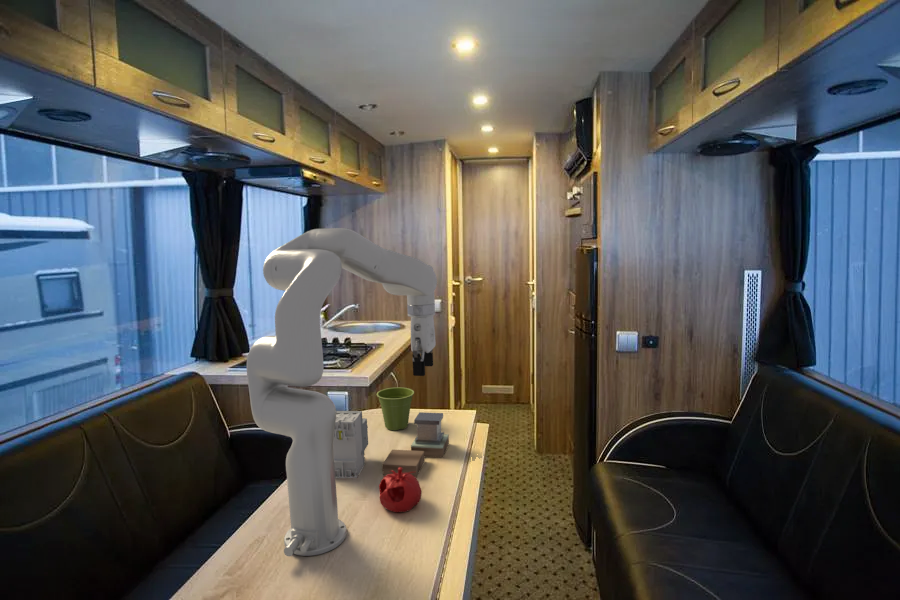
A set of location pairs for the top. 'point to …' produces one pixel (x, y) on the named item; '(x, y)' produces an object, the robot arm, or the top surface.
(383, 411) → the plant pot
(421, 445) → the stand
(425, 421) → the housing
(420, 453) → the stand
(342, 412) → the circuit breaker
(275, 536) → the top surface
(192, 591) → the top surface
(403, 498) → the pomegranate
